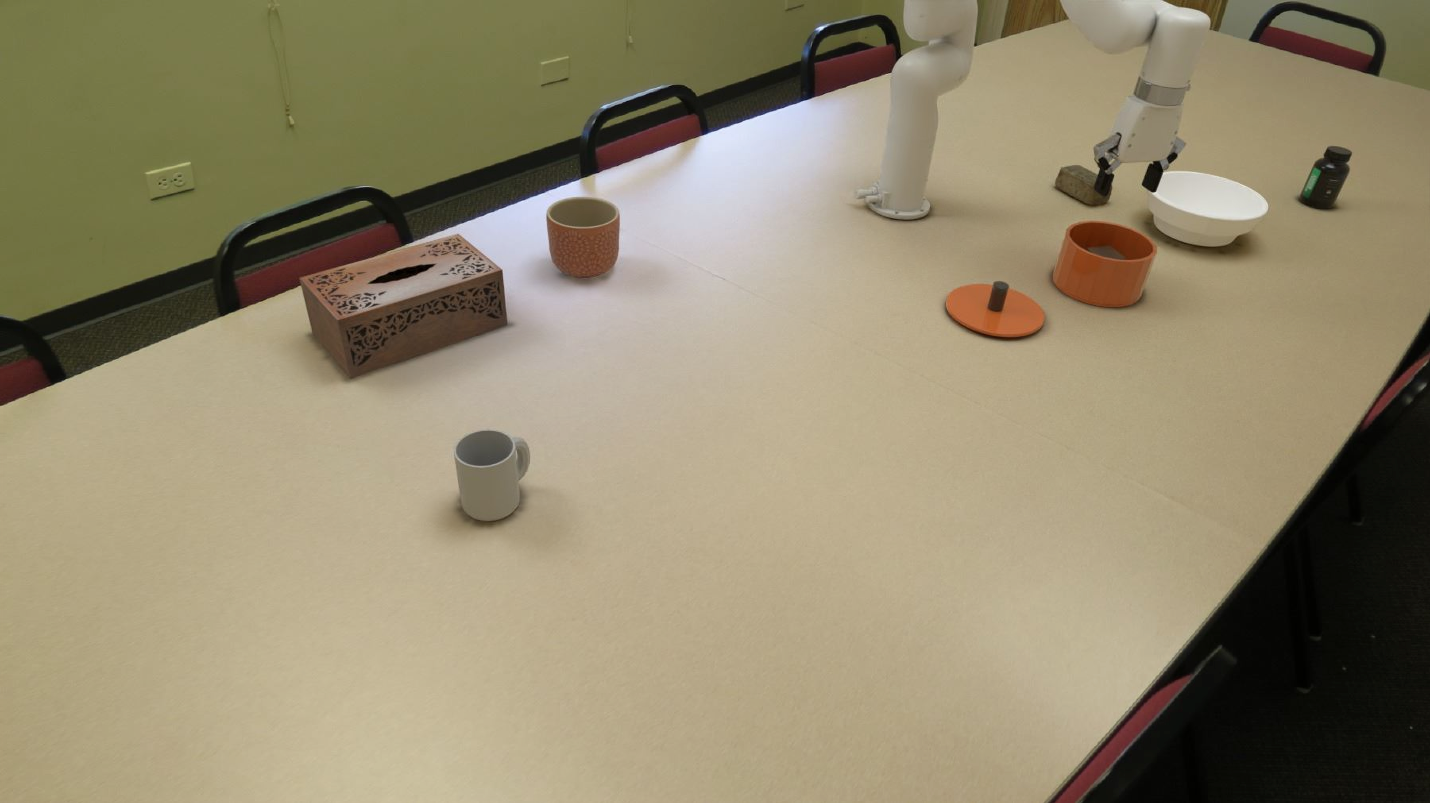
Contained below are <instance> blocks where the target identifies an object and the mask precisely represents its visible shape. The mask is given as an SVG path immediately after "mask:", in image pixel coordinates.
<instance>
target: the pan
mask: <svg viewBox="0 0 1430 803" xmlns="http://www.w3.org/2000/svg"><path fill="white" fill-rule="evenodd" d="M1101 246H1111V247H1113V248H1114V249H1115V250H1116V251H1118V252H1119V253H1120V254H1122V255H1123V256H1124V257H1125V258H1127V259H1126V260H1119V259H1113V258H1108V257H1103V256H1100V255H1097V254H1094V253H1091V252H1089V251H1087V250H1086V248H1091V247H1101ZM1157 254H1158V247H1157V245H1156V243H1155V242H1154V240H1152V238H1150V237H1149V236H1148V235H1146V234H1144V233H1143V232H1141V231H1139V230H1137V229H1134V228H1132V227H1129V226H1126V225H1123V224H1120V223H1115V222H1110V221H1102V220H1086V221H1085V220H1084V221H1078V222H1075V223H1072V224H1070V225H1069V226H1068V227H1067V228H1066V229H1065V232H1064V236H1063V238H1062V242H1061V246H1060V248H1059V252H1058V255H1057V258H1056V262H1055V266H1054V269H1053V272H1052V273H1053V274H1052V281H1053V283H1054V285H1055V286H1056V288H1057V289H1058V290H1060V291H1061V292H1062V293H1063V294H1064V295H1066V296H1068V297H1070V298H1072V299H1074V300H1077V301H1080V302H1082V303H1085V304H1088V305H1092V306H1097V307H1103V308H1122V307H1129V306H1131V305H1133V304H1135V303H1137V302H1138V301H1139V300H1140V298H1141V296H1142V294H1143V292H1144V289H1145V286H1146V284H1147V281H1148V278H1149V276H1150V273H1151V270H1152V267H1153V265H1154V262H1155V260H1156V256H1157Z"/></svg>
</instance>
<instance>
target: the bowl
mask: <svg viewBox="0 0 1430 803" xmlns="http://www.w3.org/2000/svg"><path fill="white" fill-rule="evenodd" d="M1146 204H1147V208H1148V209H1149V211H1150V212H1151V213H1152V214H1153V223H1154V224H1153V225H1154V226H1155V227H1156V228H1157V229H1158V230H1159V231H1160V232H1161V233H1163V234H1164V235H1166V236H1168V237H1170V238H1172V239H1175V240H1177V241H1179V242H1183V243H1186V244H1190V245H1195V246H1199V247H1200V246H1202V247H1212V248H1213V247H1223V246H1227V245H1229V244H1232V243H1233V241H1235V239H1237V237H1238V236H1241V235H1245V234H1248V233H1249V232H1250V231H1252V230H1253V229H1254V227H1256V225H1257V224H1258V223H1259V222H1260V221H1261V220H1262V219H1263V218H1264V217H1265V215H1266V214H1267V213H1268V211H1269V204H1268V202H1267V200H1266V199H1265V198H1264V196H1262V194H1260V193H1259V192H1257V191H1256V190H1254V189H1252V188H1250V187H1248V186H1247V185H1244V184H1242V183H1239V182H1237V181H1236V180H1232V179H1230V178H1226V177H1222V176H1218V175H1215V174H1211V173H1204V172H1198V171H1190V170H1189V171H1188V170H1170V171H1164V172H1163V175H1162V177H1161V180H1160V183H1159V185H1158V188H1157V191H1156V192H1154V193H1152V192H1150V191H1149V190H1147V189H1146Z"/></svg>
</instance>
